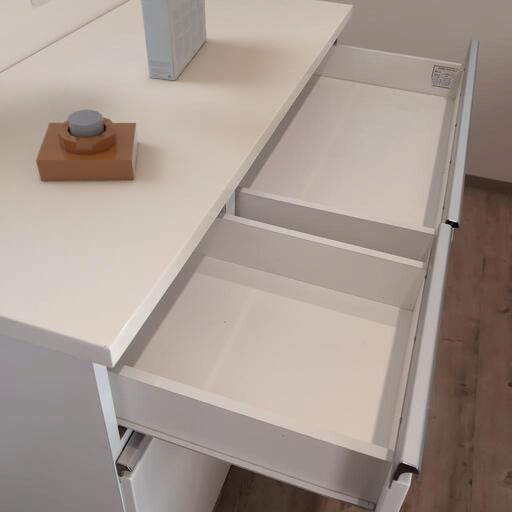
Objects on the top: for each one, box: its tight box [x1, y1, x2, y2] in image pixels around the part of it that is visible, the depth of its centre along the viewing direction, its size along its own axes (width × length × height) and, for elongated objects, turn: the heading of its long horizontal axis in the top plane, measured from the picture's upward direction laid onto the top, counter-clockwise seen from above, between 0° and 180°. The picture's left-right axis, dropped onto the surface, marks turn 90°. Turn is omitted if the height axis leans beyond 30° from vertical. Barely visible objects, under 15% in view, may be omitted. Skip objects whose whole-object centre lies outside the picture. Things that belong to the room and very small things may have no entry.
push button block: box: [35, 116, 139, 182], centre depth 74 cm, size 12×10×5 cm
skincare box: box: [140, 0, 207, 81], centre depth 99 cm, size 21×6×16 cm, turn 168°
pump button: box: [67, 109, 104, 138], centre depth 72 cm, size 4×4×2 cm
